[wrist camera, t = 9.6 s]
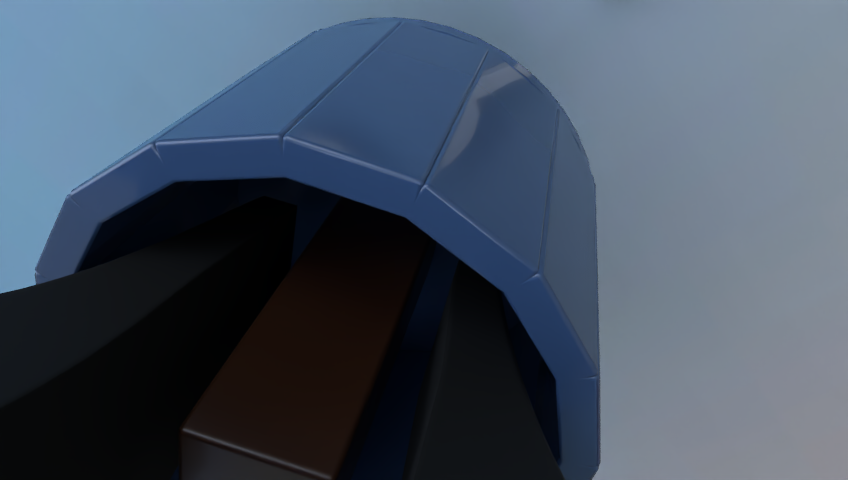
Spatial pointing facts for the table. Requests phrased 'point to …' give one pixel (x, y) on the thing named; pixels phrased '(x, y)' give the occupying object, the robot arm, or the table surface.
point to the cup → (390, 200)
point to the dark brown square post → (313, 357)
